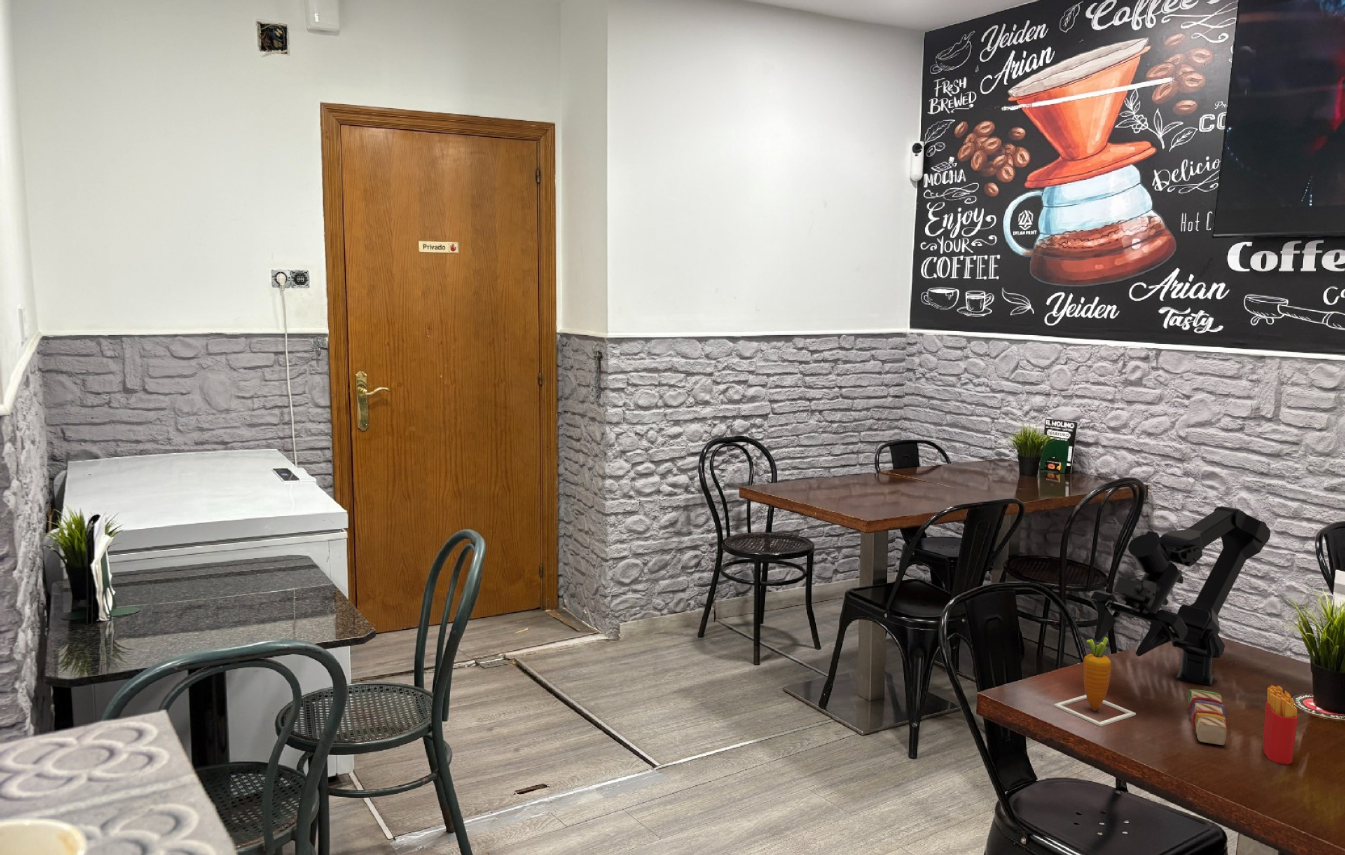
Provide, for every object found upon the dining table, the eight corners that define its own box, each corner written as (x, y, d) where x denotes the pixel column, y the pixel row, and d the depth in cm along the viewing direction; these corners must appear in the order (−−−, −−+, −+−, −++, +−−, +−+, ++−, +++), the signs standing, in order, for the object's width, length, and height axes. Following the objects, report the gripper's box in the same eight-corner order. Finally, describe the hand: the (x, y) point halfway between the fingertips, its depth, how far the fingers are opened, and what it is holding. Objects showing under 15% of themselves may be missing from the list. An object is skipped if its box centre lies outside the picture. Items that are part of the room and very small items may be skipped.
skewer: (1232, 751, 174) (1234, 724, 173) (1191, 744, 176) (1193, 718, 176) (1221, 707, 192) (1223, 683, 192) (1184, 701, 195) (1186, 678, 194)
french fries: (1296, 767, 167) (1302, 702, 166) (1270, 764, 168) (1276, 698, 167) (1282, 746, 175) (1288, 683, 174) (1257, 743, 176) (1263, 680, 175)
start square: (1088, 695, 197) (1088, 693, 197) (1135, 715, 188) (1135, 713, 188) (1053, 706, 192) (1054, 704, 192) (1100, 726, 183) (1100, 724, 183)
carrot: (1079, 712, 189) (1084, 639, 187) (1081, 703, 193) (1086, 631, 191) (1107, 718, 187) (1112, 643, 185) (1108, 708, 191) (1113, 636, 189)
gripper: (1098, 552, 200) (1059, 611, 196) (1183, 574, 184) (1143, 639, 180) (1119, 583, 205) (1082, 642, 201) (1204, 608, 189) (1165, 672, 185)
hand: (1116, 647), depth 191 cm, fingers open, 9 cm apart
